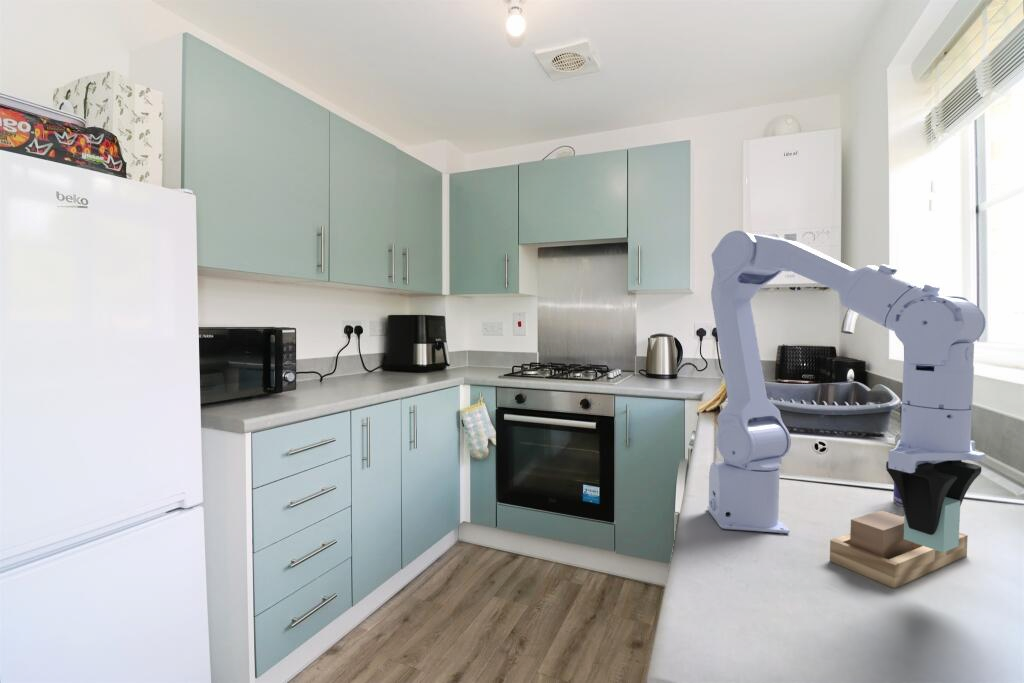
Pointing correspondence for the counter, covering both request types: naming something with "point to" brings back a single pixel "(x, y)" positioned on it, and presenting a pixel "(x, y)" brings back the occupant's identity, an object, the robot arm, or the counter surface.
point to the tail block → (939, 529)
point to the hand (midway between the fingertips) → (930, 527)
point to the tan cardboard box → (880, 534)
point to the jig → (894, 561)
